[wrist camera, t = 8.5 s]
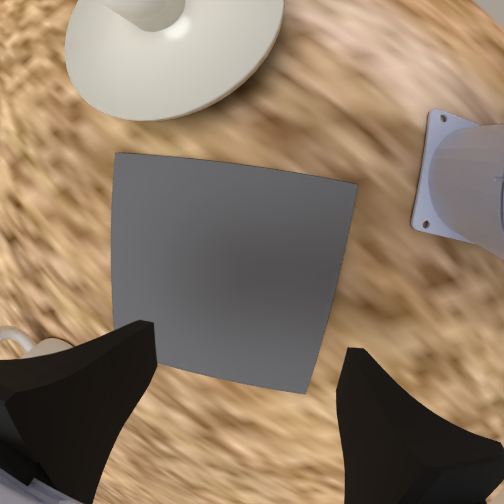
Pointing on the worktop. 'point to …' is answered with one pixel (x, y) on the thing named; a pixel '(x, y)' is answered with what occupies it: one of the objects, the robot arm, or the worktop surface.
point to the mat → (228, 264)
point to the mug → (29, 345)
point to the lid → (166, 53)
